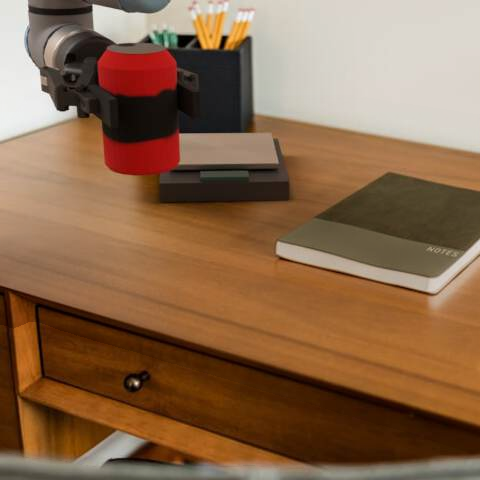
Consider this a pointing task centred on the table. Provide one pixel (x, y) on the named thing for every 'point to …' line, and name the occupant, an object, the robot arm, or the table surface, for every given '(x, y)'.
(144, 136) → the soda can
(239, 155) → the scale platter
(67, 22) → the robot arm
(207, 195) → the scale
